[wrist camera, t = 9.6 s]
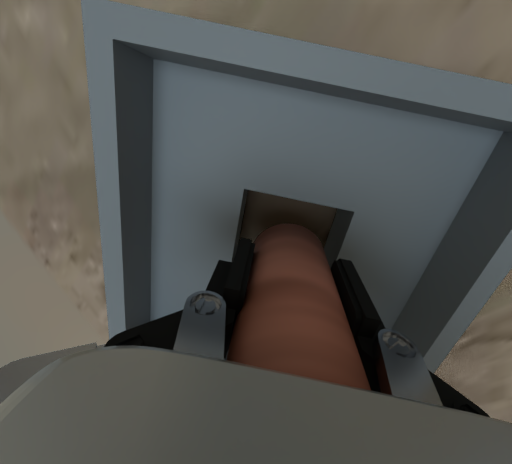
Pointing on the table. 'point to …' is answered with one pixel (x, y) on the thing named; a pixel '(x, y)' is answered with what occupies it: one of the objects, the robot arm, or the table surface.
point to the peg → (295, 312)
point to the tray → (294, 166)
